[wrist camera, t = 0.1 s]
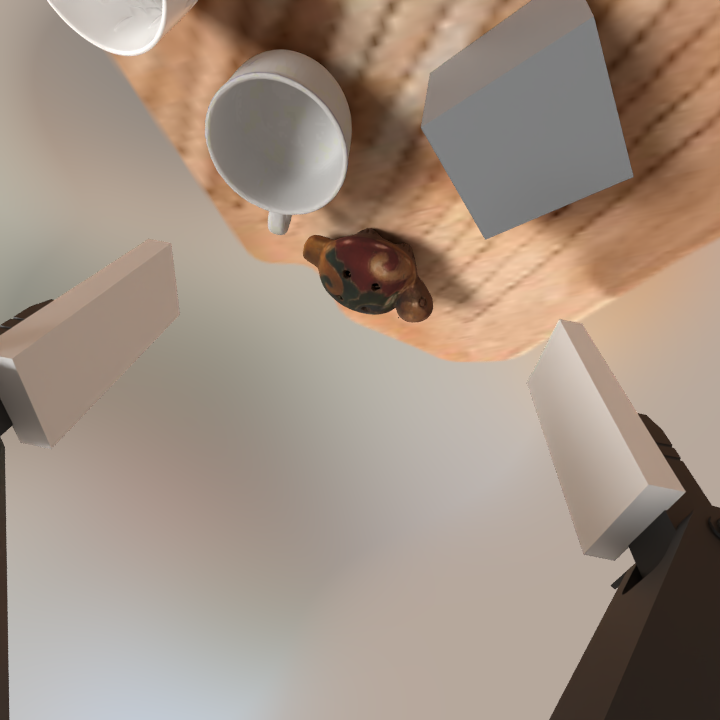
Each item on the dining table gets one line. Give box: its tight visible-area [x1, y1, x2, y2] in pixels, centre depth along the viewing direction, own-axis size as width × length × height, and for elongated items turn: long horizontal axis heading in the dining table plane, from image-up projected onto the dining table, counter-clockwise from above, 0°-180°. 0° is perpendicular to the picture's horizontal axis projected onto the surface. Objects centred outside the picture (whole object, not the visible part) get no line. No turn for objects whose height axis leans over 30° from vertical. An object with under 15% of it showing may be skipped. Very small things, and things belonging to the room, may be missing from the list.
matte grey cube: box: [421, 0, 633, 240], centre depth 30 cm, size 10×10×9 cm
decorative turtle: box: [303, 228, 433, 322], centre depth 45 cm, size 10×15×8 cm, turn 78°
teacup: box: [205, 49, 352, 235], centre depth 35 cm, size 14×11×8 cm
